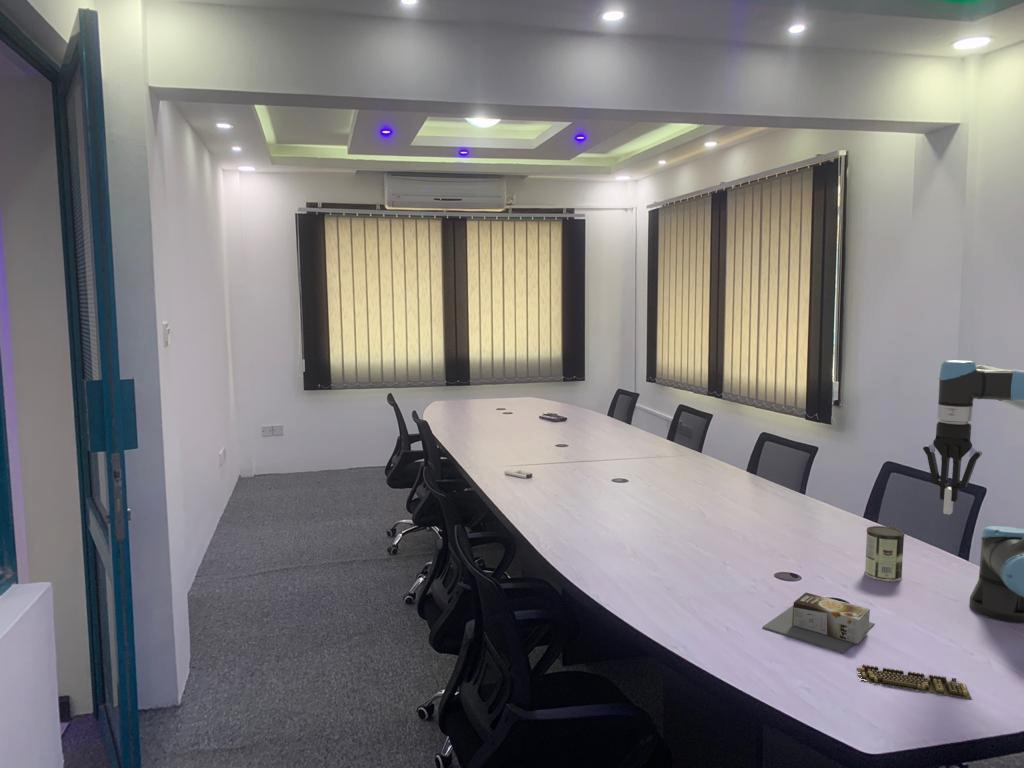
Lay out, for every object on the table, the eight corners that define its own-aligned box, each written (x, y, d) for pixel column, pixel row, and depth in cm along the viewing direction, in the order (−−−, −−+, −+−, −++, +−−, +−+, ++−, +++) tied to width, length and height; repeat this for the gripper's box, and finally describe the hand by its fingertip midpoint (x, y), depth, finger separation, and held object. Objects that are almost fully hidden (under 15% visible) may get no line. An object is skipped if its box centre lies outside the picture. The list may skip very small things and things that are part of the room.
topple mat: (874, 624, 190) (874, 623, 190) (843, 653, 174) (843, 652, 174) (797, 603, 204) (798, 601, 204) (762, 628, 188) (762, 626, 188)
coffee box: (859, 619, 177) (792, 601, 188) (858, 644, 178) (791, 626, 188) (870, 608, 184) (805, 591, 195) (868, 632, 185) (804, 615, 195)
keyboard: (858, 685, 161) (858, 676, 161) (854, 666, 170) (855, 658, 169) (973, 703, 154) (973, 694, 153) (963, 683, 162) (964, 674, 162)
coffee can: (886, 568, 231) (889, 525, 229) (909, 580, 221) (912, 535, 219) (857, 570, 229) (859, 526, 228) (878, 582, 219) (881, 536, 218)
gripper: (921, 420, 187) (915, 511, 190) (980, 426, 178) (973, 521, 181) (929, 417, 193) (923, 505, 195) (987, 422, 184) (980, 515, 186)
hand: (947, 512), depth 188 cm, fingers closed
